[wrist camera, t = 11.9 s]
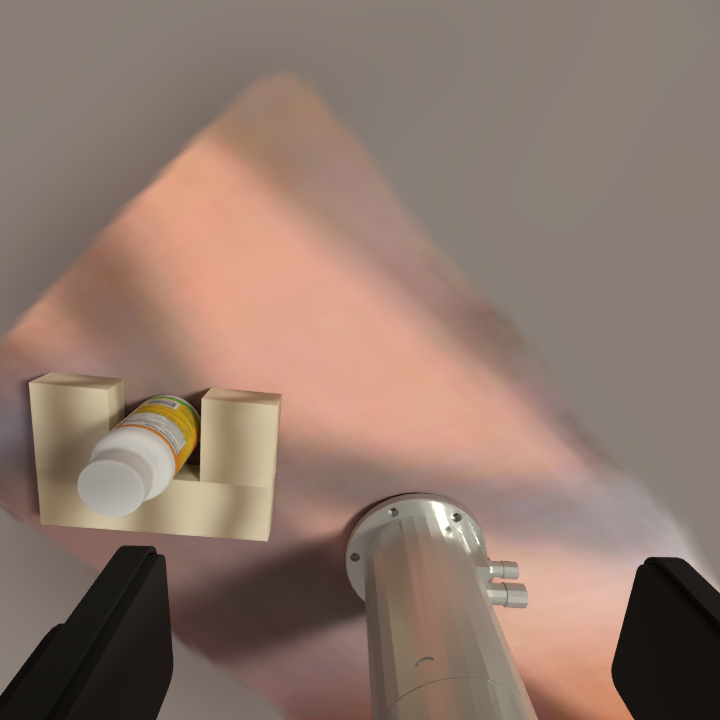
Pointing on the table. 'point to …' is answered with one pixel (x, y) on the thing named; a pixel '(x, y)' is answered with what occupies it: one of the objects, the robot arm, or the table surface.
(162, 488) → the supplement bottle
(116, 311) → the table surface
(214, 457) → the notched board
